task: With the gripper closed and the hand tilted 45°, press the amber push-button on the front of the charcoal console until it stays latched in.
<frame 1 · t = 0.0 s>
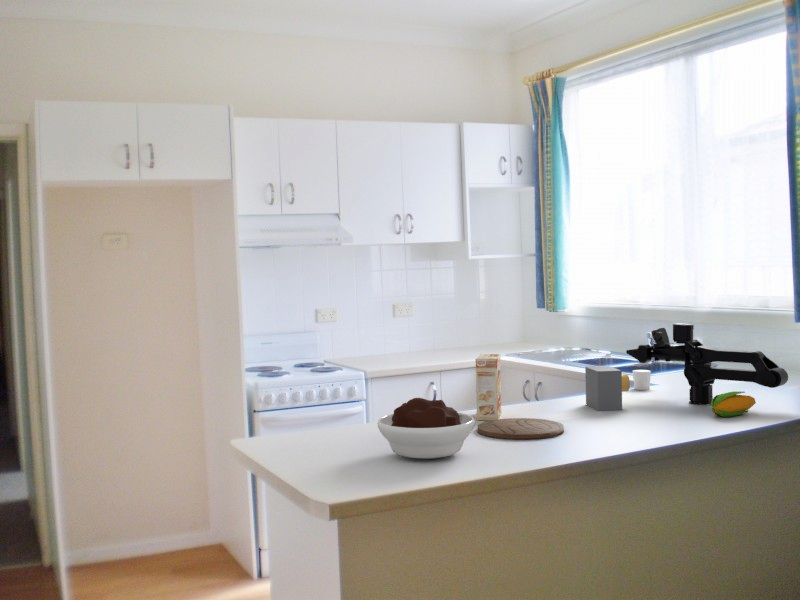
hand: (633, 350, 297), 17 cm above the countertop, tool horizontal, fingers open, 9 cm apart
bowl of chocolate pudding: (426, 456, 213), on the countertop
button: (617, 382, 278), point 8 cm above the countertop, slide at 0.0 cm
trivet: (520, 433, 241), on the countertop
console: (603, 407, 277), on the countertop
corn: (734, 415, 258), on the countertop
coffeecake box: (489, 417, 266), on the countertop
shot glass: (641, 389, 316), on the countertop
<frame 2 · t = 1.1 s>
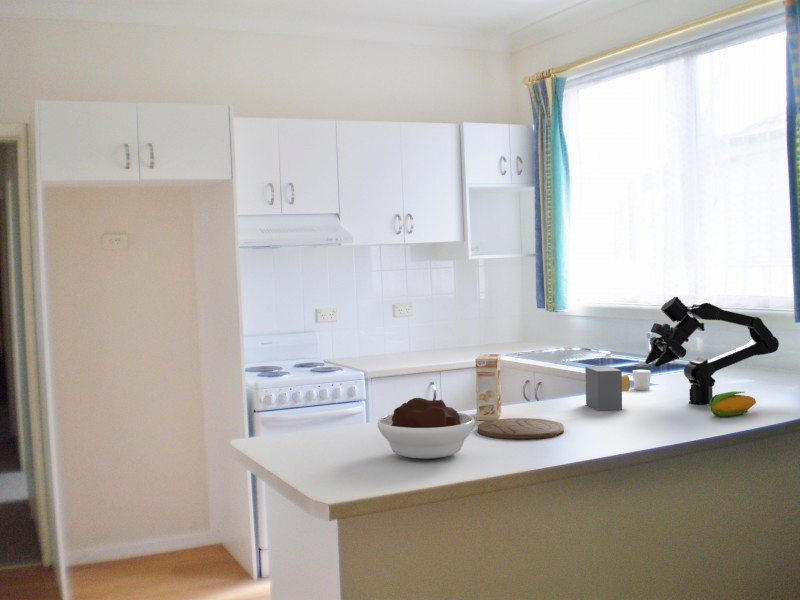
hand: (650, 364, 278), 14 cm above the countertop, tool tilted 45°, fingers open, 8 cm apart
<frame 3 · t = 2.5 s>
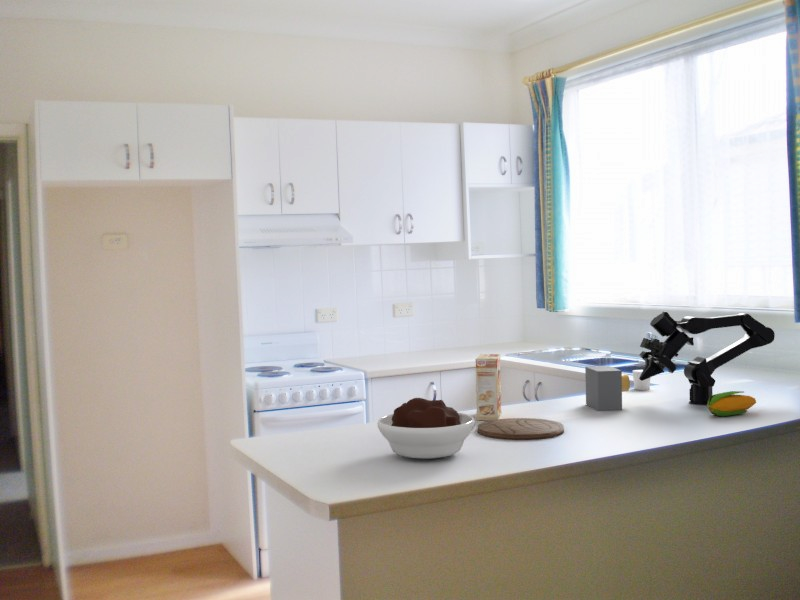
hand: (640, 379, 278), 9 cm above the countertop, tool tilted 45°, fingers closed
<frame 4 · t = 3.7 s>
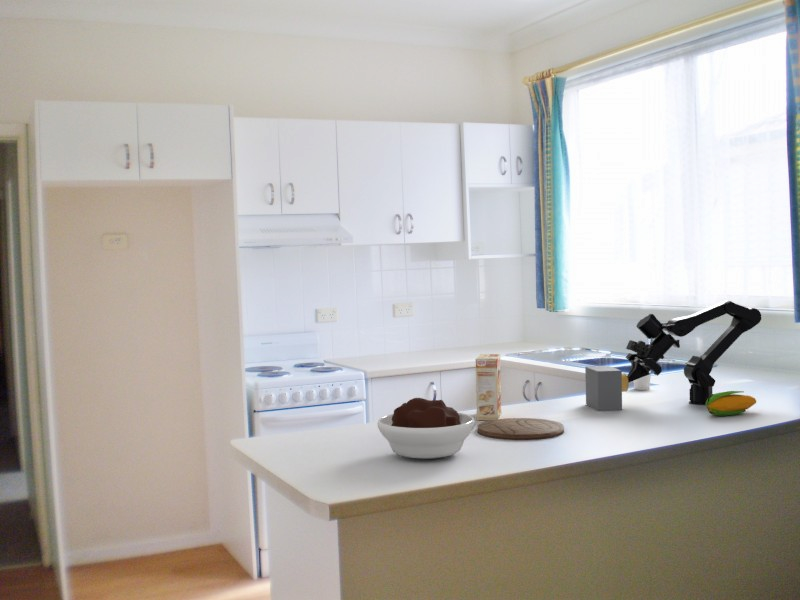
hand: (626, 381, 278), 8 cm above the countertop, tool tilted 45°, fingers closed, pressing on button
button: (616, 382, 277), point 8 cm above the countertop, slide at 0.4 cm, touching gripper
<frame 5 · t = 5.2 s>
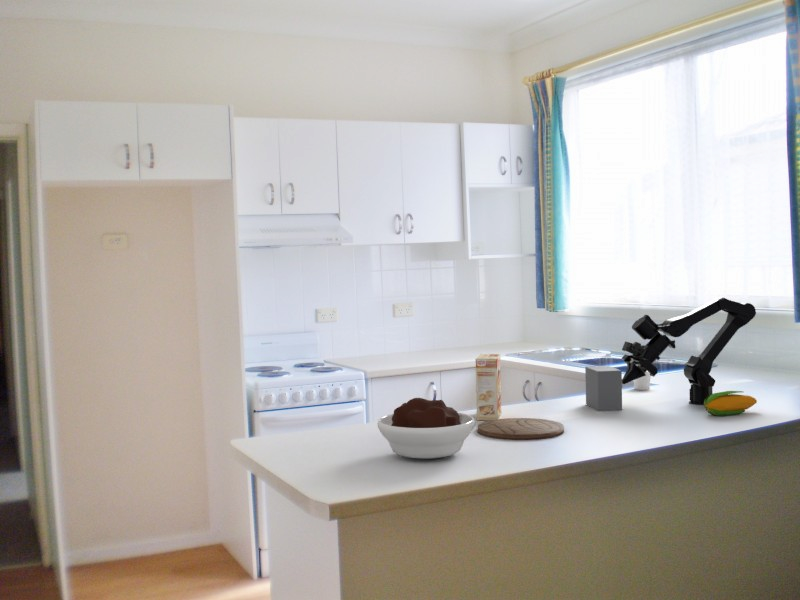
hand: (622, 383, 278), 8 cm above the countertop, tool tilted 45°, fingers closed
button: (610, 383, 277), point 8 cm above the countertop, slide at 2.6 cm
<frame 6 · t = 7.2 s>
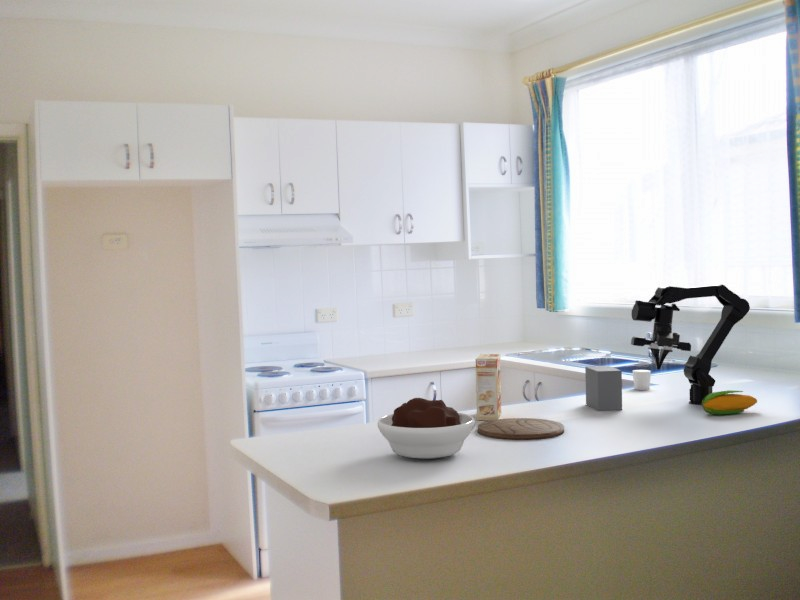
hand: (658, 369, 278), 12 cm above the countertop, tool pointing down, fingers closed
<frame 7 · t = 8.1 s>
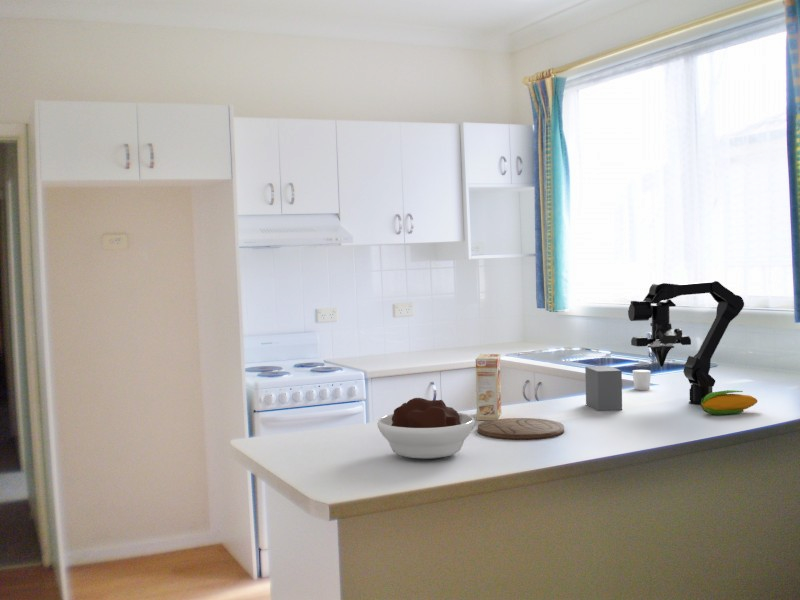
hand: (661, 366, 278), 13 cm above the countertop, tool pointing down, fingers closed
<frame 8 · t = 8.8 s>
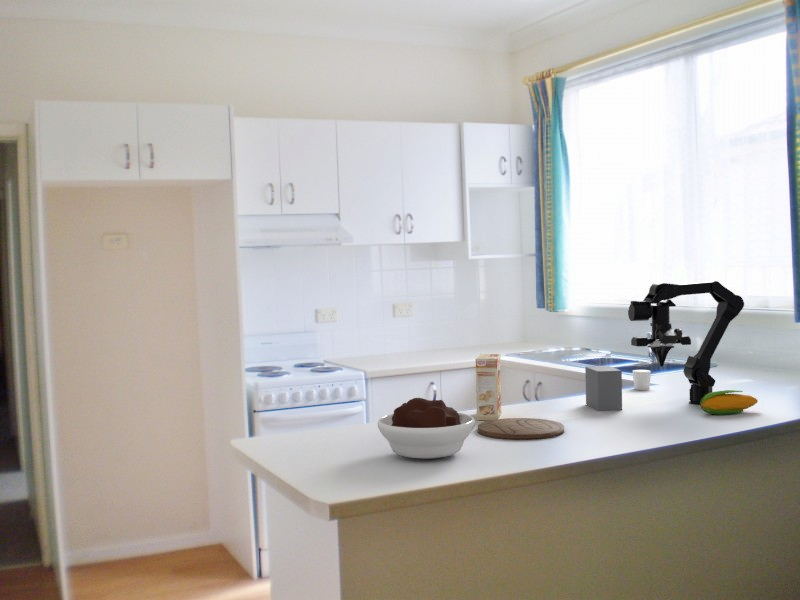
hand: (661, 366, 278), 13 cm above the countertop, tool pointing down, fingers closed
at the end: button slide at 2.6 cm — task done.
